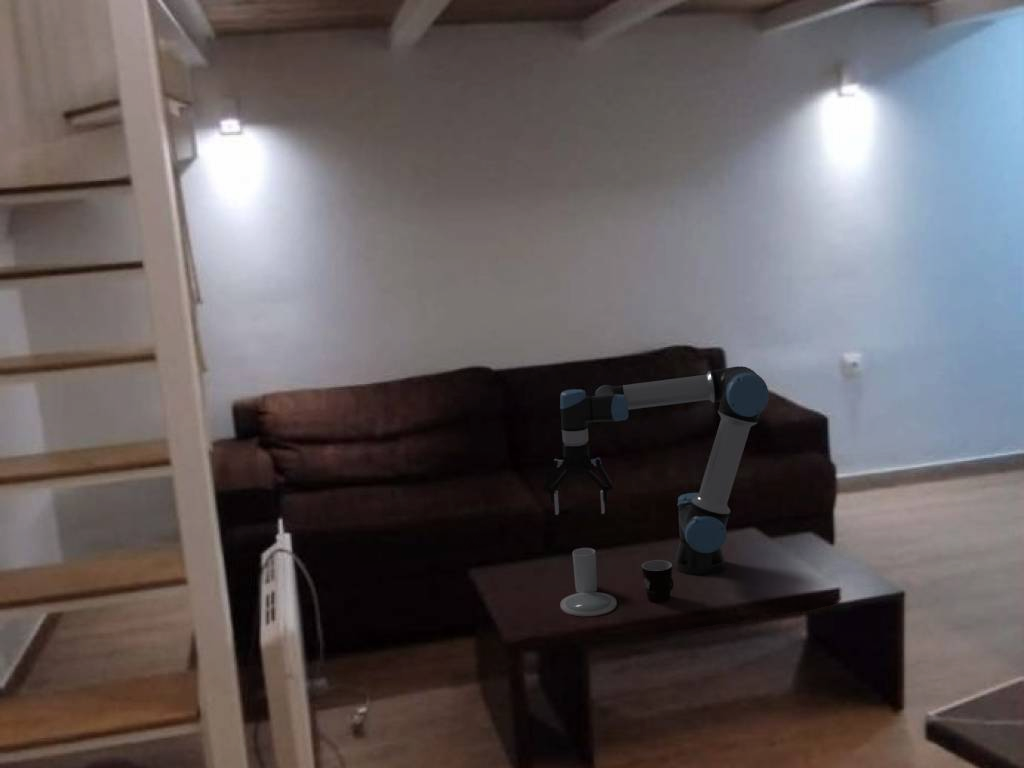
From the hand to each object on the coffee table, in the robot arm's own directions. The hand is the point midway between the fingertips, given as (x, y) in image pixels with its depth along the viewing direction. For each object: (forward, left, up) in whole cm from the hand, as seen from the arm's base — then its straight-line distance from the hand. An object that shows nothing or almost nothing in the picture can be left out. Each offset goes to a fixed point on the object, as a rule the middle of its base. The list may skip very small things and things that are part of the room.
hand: (580, 513), depth 302 cm
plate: (-2, +13, -23) cm, 27 cm away
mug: (0, 0, -24) cm, 24 cm away
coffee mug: (-22, +10, -24) cm, 34 cm away
